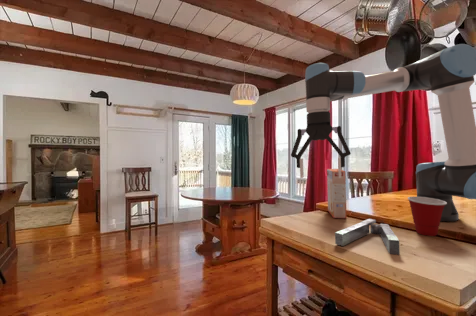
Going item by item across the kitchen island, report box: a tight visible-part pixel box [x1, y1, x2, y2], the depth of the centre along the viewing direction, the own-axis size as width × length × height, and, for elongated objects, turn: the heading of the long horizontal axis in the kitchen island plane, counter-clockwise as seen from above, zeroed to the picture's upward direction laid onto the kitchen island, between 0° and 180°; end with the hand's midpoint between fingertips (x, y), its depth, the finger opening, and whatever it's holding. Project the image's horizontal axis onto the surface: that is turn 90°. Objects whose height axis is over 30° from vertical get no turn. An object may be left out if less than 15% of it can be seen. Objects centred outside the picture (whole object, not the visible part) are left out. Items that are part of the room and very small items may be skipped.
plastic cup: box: [407, 196, 447, 237], centre depth 84 cm, size 11×11×12 cm
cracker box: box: [326, 168, 347, 219], centre depth 113 cm, size 14×6×21 cm, turn 168°
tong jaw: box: [334, 218, 377, 247], centre depth 83 cm, size 2×22×4 cm, turn 126°
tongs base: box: [370, 223, 400, 256], centre depth 79 cm, size 5×20×4 cm, turn 158°
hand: (320, 177), depth 82 cm, fingers open, 11 cm apart
